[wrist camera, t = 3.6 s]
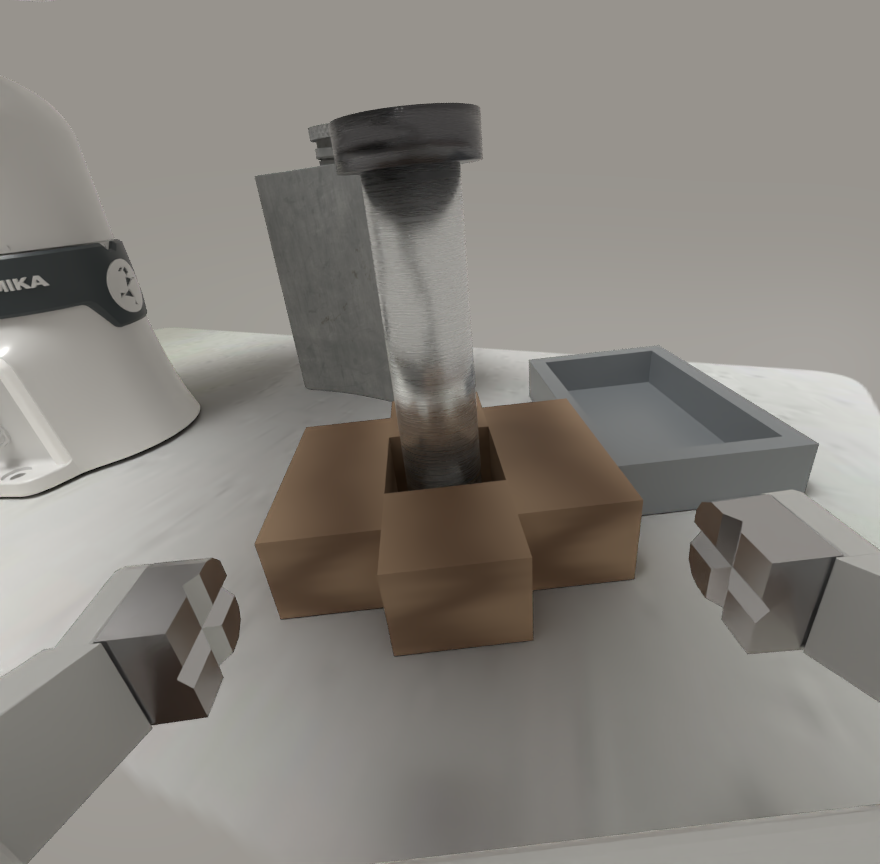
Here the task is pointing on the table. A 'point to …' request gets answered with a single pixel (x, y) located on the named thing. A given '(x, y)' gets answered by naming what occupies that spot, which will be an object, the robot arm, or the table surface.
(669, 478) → the tray
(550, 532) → the block
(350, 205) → the hip flask
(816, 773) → the table surface
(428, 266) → the steel pin
